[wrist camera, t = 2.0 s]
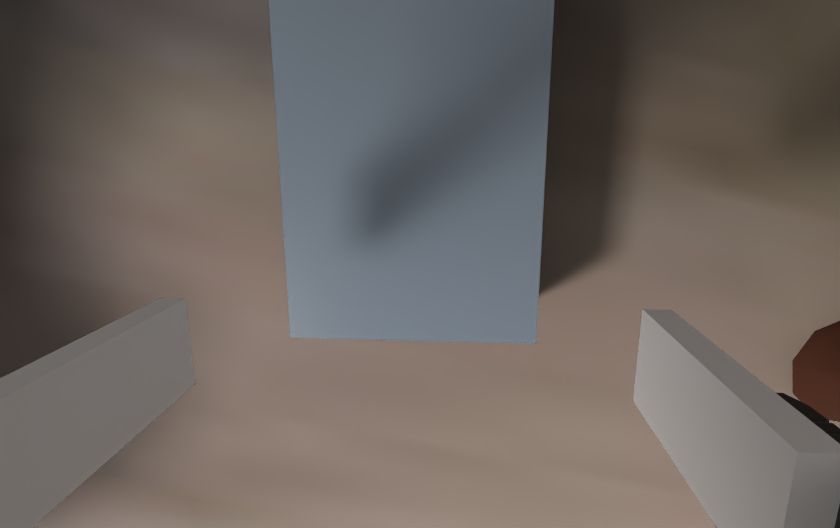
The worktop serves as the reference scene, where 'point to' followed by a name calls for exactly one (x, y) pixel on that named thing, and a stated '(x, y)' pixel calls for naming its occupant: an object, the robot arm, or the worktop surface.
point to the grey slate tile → (412, 166)
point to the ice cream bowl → (820, 372)
